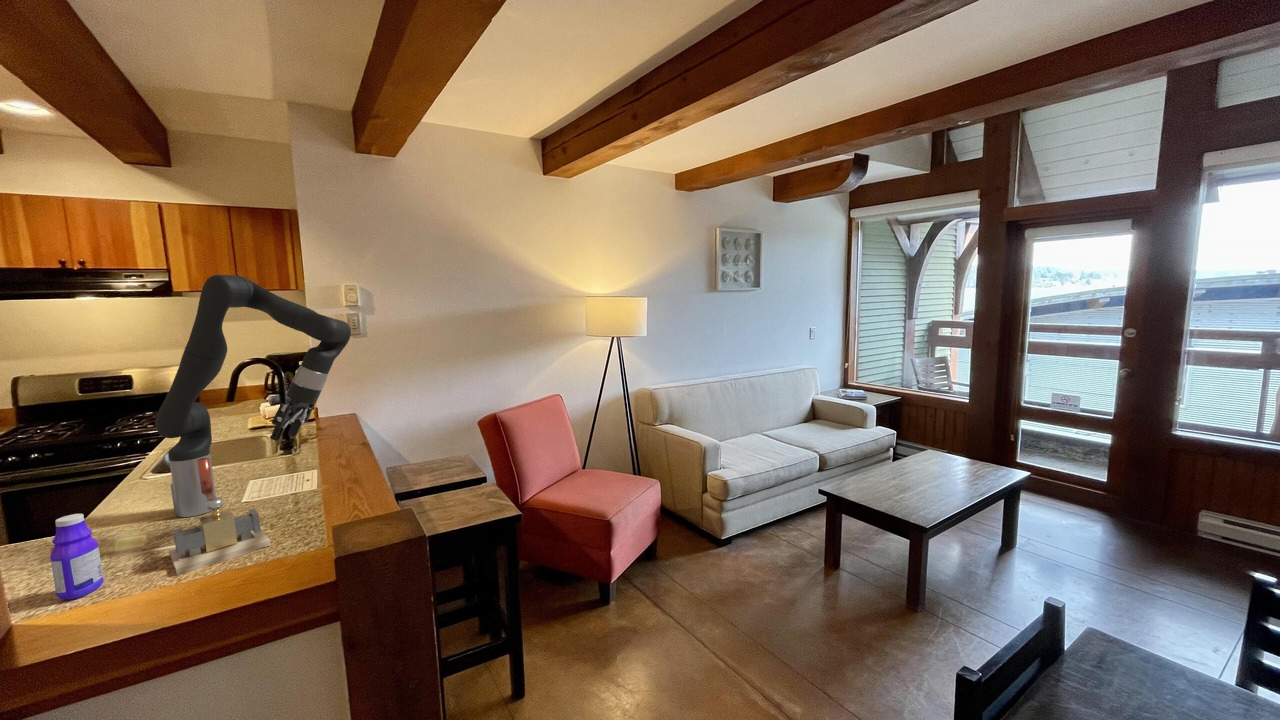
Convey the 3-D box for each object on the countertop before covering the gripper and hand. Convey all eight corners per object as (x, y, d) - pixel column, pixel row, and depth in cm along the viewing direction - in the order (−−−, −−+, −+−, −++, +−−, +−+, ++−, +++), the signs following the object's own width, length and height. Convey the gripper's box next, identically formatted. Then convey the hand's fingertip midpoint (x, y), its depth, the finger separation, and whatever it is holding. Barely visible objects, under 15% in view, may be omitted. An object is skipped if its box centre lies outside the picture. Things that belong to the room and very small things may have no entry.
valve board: (177, 575, 116) (176, 569, 116) (169, 555, 125) (169, 550, 125) (270, 545, 129) (270, 540, 129) (258, 529, 139) (257, 524, 139)
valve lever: (208, 510, 124) (202, 470, 122) (199, 497, 132) (194, 459, 131) (224, 506, 126) (219, 466, 125) (215, 494, 135) (210, 456, 133)
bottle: (84, 584, 114) (71, 511, 111) (111, 582, 114) (99, 509, 112) (49, 603, 106) (35, 525, 104) (79, 601, 107) (65, 524, 105)
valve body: (179, 561, 120) (173, 522, 118) (176, 554, 123) (170, 515, 122) (261, 536, 131) (257, 500, 130) (256, 530, 135) (252, 495, 134)
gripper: (307, 378, 148) (284, 429, 147) (280, 379, 134) (253, 436, 133) (332, 388, 149) (309, 439, 148) (308, 390, 135) (282, 446, 134)
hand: (283, 437), depth 140 cm, fingers open, 8 cm apart
